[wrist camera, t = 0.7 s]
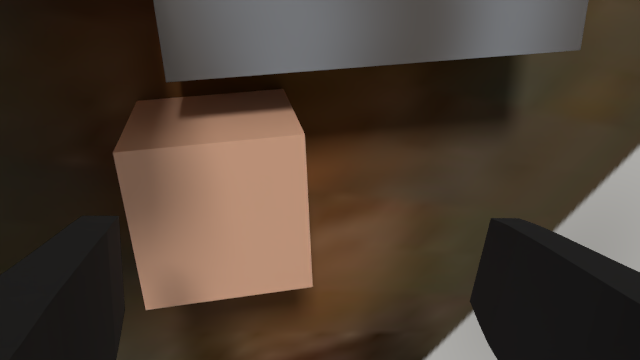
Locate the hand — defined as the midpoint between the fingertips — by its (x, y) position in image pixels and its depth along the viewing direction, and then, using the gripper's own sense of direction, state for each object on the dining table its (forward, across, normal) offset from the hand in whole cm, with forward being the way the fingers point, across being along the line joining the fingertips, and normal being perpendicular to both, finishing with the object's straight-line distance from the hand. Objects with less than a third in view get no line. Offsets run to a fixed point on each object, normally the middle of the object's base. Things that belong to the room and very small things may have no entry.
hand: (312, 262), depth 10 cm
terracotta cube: (+10, +2, +2) cm, 10 cm away
